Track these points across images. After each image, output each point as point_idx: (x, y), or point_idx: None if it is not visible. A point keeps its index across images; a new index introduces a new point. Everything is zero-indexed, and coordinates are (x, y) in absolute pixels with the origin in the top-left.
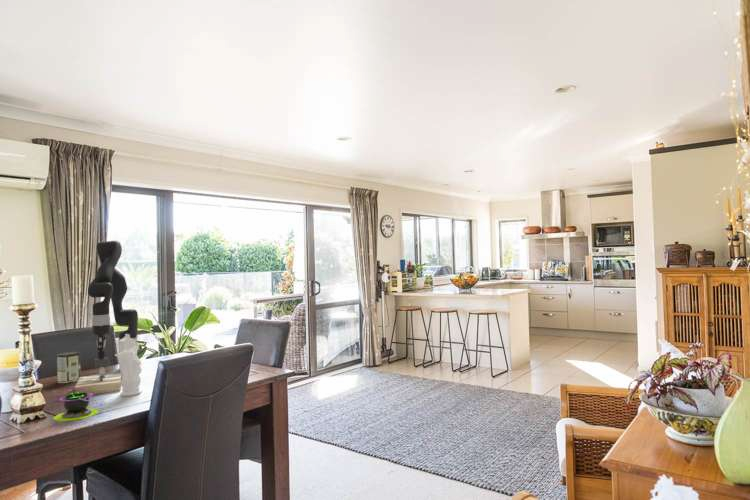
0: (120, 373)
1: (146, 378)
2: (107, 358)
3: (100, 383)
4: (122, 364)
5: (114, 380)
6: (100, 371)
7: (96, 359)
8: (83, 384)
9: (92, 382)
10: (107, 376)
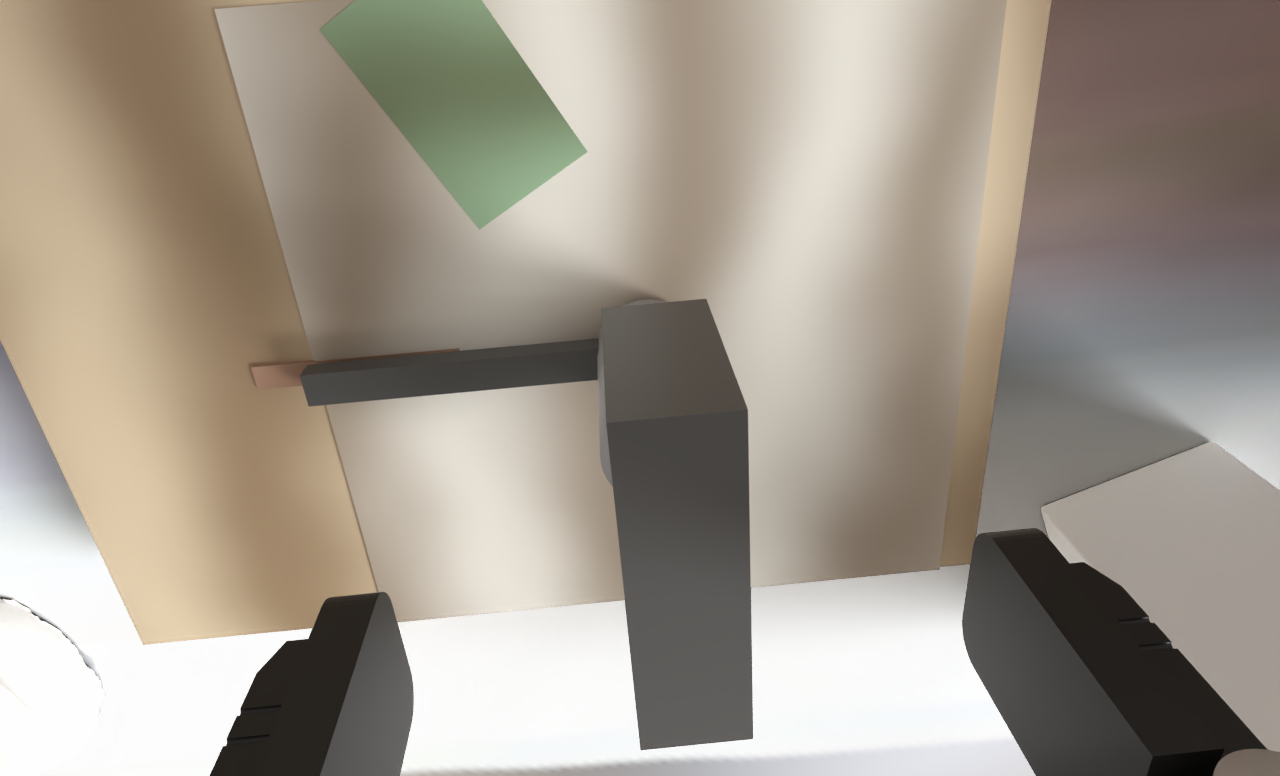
0: (842, 570)
1: (812, 732)
2: (640, 714)
3: (108, 386)
4: (1247, 620)
5: (295, 557)
6: (602, 381)
7: (613, 470)
8: (106, 74)
9: (257, 229)
10: None
